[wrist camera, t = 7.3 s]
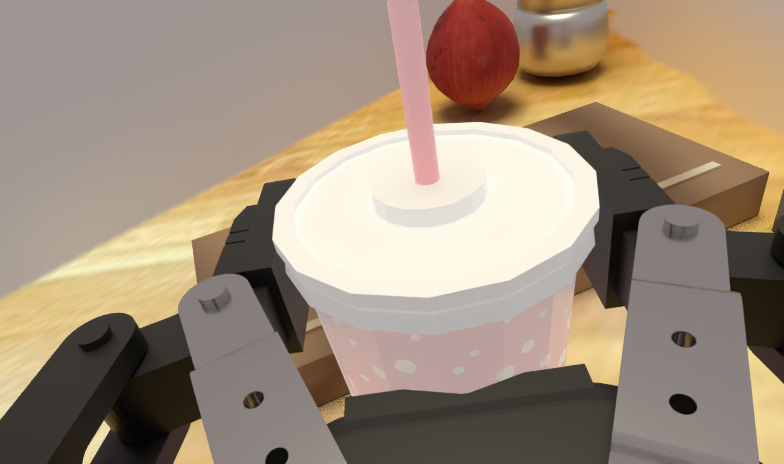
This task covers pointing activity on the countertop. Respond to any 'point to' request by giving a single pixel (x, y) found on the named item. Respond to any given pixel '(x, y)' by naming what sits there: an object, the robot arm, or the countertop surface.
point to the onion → (472, 53)
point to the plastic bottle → (561, 35)
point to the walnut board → (678, 180)
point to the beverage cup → (440, 244)
